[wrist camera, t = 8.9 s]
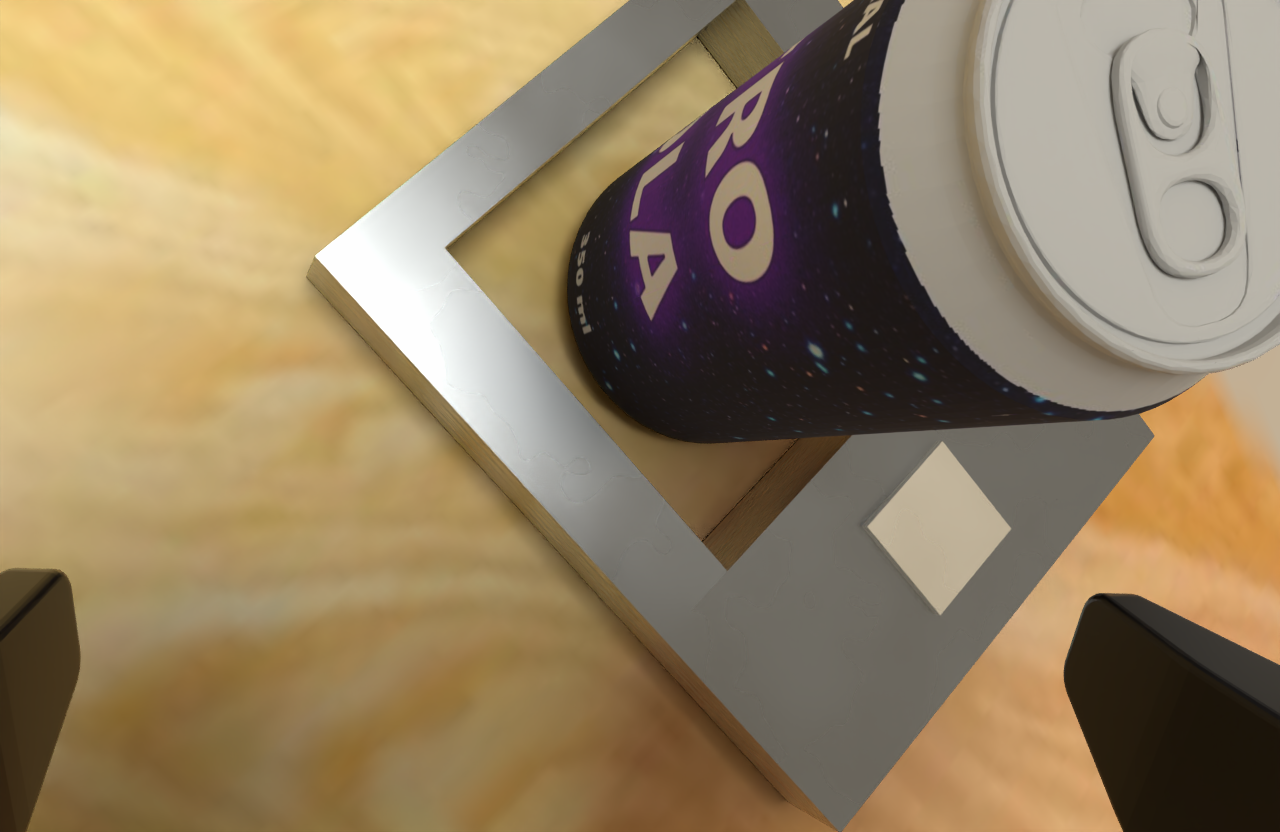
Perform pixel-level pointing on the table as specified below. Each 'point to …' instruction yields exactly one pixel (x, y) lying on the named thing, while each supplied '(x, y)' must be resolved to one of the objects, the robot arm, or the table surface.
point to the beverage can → (949, 225)
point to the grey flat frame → (776, 506)
